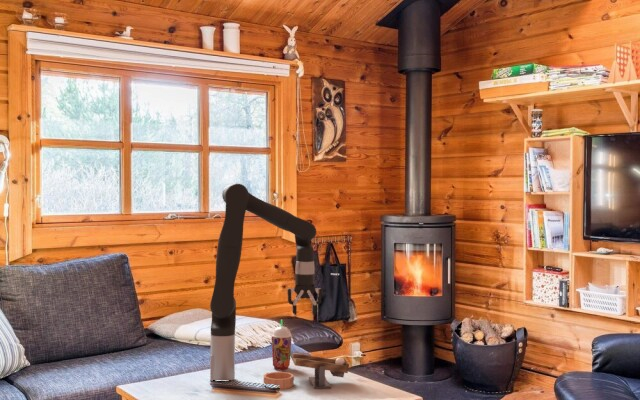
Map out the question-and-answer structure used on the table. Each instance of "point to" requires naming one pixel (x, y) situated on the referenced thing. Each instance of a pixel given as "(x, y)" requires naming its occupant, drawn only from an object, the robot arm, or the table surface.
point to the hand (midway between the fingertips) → (304, 314)
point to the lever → (320, 363)
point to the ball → (340, 361)
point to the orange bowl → (279, 379)
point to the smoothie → (281, 347)
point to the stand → (320, 379)
